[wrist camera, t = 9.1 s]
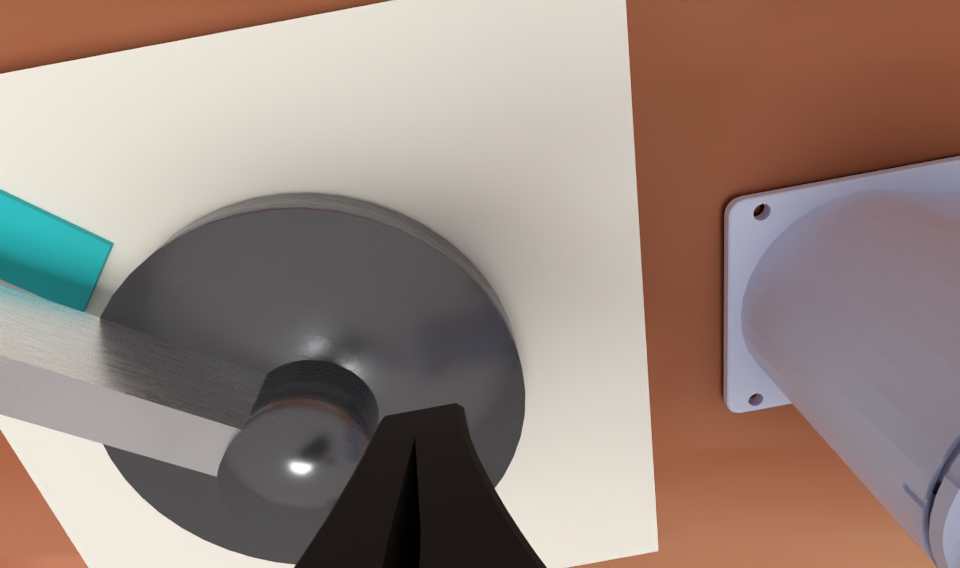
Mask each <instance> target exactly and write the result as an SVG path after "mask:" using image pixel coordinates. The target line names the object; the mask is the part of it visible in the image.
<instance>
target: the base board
mask: <svg viewBox="0 0 960 568" xmlns="http://www.w3.org/2000/svg"><path fill="white" fill-rule="evenodd" d="M307 193H312V194H323V195H334V196H343V197H347V198H352V199H356V200H361V201H365V202H370V203H373V204H376V205H379V206H382V207H385V208H387V209H390V210H393V211H396V212H399V213H401V214H403V215H405V216H407V217H409V218H411V219H413V220H415V221H417V222H419V223H421V224H423V225H425V226H426V227H428V228H429V229H431V230H432V231H434V232H435V233H437V234H439V235H440V236H442V237H443V238H445V239H446V240H448V241H449V242H450V243H451V244H452V245H453V246H455V247H456V248H457V249H458V250H459V251H460V252H461V253H463V254H464V255H465V256H466V257H467V258H468V259H469V260H470V261H471V262H472V263H473V264H474V265H475V267H476V268H477V269H478V270H479V271H480V272H481V273H482V275H483V276H484V277H485V278H486V279H487V281H488V282H489V284H490V285H491V287H492V289H493V290H494V292H495V293H496V295H497V296H498V298H499V299H500V301H501V304H502V306H503V308H504V310H505V312H506V314H507V316H508V319H509V321H510V324H511V328H512V331H513V334H514V338H515V341H516V345H517V349H518V353H519V358H520V362H521V366H522V371H523V378H524V385H525V417H524V422H523V428H522V433H521V437H520V440H519V443H518V446H517V449H516V452H515V455H514V457H513V459H512V461H511V463H510V465H509V467H508V469H507V471H506V473H505V474H504V476H503V478H502V479H501V480H500V482H499V483H498V485H497V486H496V487H495V490H496V492H497V494H498V495H499V497H500V499H501V500H502V502H503V504H504V505H505V507H506V509H507V510H508V512H509V513H510V515H511V517H512V518H513V520H514V521H515V523H516V524H517V526H518V528H519V529H520V531H521V532H522V534H523V535H524V537H525V538H526V539H527V541H528V542H529V544H530V545H531V547H532V548H533V549H534V551H535V552H536V554H537V555H538V556H539V558H540V559H541V560H542V562H543V563H544V564H545V566H546V567H547V568H567V567H572V566H578V565H583V564H589V563H595V562H600V561H606V560H611V559H617V558H622V557H628V556H634V555H639V554H645V553H650V552H656V551H658V535H657V519H656V502H655V485H654V468H653V451H652V434H651V418H650V401H649V384H648V367H647V350H646V333H645V317H644V300H643V283H642V266H641V249H640V233H639V216H638V199H637V182H636V165H635V148H634V132H633V115H632V98H631V81H630V64H629V47H628V31H627V14H626V0H392V1H387V2H382V3H376V4H371V5H366V6H360V7H355V8H350V9H344V10H339V11H334V12H328V13H323V14H318V15H312V16H307V17H302V18H296V19H291V20H286V21H280V22H275V23H270V24H264V25H259V26H254V27H248V28H243V29H238V30H232V31H227V32H222V33H216V34H211V35H206V36H200V37H195V38H190V39H184V40H179V41H174V42H168V43H163V44H158V45H152V46H147V47H142V48H136V49H131V50H126V51H120V52H115V53H110V54H104V55H99V56H93V57H88V58H83V59H77V60H72V61H67V62H61V63H56V64H51V65H45V66H40V67H35V68H29V69H24V70H19V71H13V72H8V73H3V74H0V284H1V285H4V286H7V287H10V288H13V289H16V290H19V291H22V292H25V293H28V294H31V295H34V296H37V297H40V298H43V299H46V300H49V301H52V302H55V303H58V304H61V305H64V306H66V307H69V308H72V309H75V310H78V311H81V312H84V313H87V314H90V315H93V316H96V317H99V318H100V316H101V315H102V313H103V311H104V309H105V307H106V306H107V304H108V302H109V300H110V299H111V297H112V295H113V294H114V293H115V292H116V290H117V289H118V288H119V287H120V285H121V284H122V283H123V282H124V280H125V279H126V278H127V277H128V276H129V274H130V273H132V272H133V271H134V270H135V269H136V268H137V267H138V266H139V265H140V264H141V263H142V262H143V261H145V260H146V259H147V258H148V257H149V256H150V255H151V254H152V253H153V252H154V251H156V250H157V249H158V248H159V247H160V246H161V245H162V244H163V243H165V242H166V241H167V240H168V239H169V238H170V237H171V236H172V235H174V234H175V233H177V232H178V231H180V230H181V229H183V228H184V227H186V226H187V225H189V224H190V223H192V222H194V221H195V220H197V219H199V218H201V217H203V216H205V215H207V214H210V213H212V212H214V211H216V210H218V209H221V208H223V207H226V206H229V205H233V204H236V203H239V202H243V201H246V200H250V199H255V198H261V197H267V196H273V195H280V194H307ZM0 429H1V431H2V433H3V434H4V436H5V437H6V439H7V440H8V442H9V444H10V445H11V447H12V448H13V450H14V451H15V453H16V454H17V456H18V458H19V459H20V461H21V462H22V464H23V465H24V467H25V469H26V470H27V472H28V473H29V475H30V476H31V478H32V480H33V481H34V483H35V484H36V486H37V487H38V489H39V491H40V492H41V494H42V495H43V497H44V498H45V500H46V502H47V503H48V505H49V506H50V508H51V509H52V511H53V513H54V514H55V516H56V517H57V519H58V520H59V522H60V524H61V525H62V527H63V528H64V530H65V531H66V533H67V535H68V536H69V538H70V539H71V541H72V542H73V544H74V545H75V547H76V549H77V550H78V552H79V553H80V555H81V556H82V558H83V560H84V561H85V563H86V564H87V566H88V567H89V568H294V566H295V565H294V564H286V563H277V562H272V561H267V560H262V559H258V558H253V557H249V556H246V555H243V554H240V553H236V552H233V551H230V550H227V549H224V548H222V547H220V546H217V545H215V544H212V543H210V542H208V541H205V540H203V539H201V538H199V537H197V536H196V535H194V534H192V533H190V532H188V531H186V530H185V529H183V528H181V527H179V526H178V525H177V524H175V523H174V522H172V521H171V520H169V519H168V518H166V517H165V516H163V515H162V514H160V513H159V512H158V511H157V510H156V509H155V508H153V507H152V506H151V505H150V504H149V503H148V502H146V501H145V500H144V499H143V498H142V497H141V496H140V495H139V494H138V493H137V492H136V491H135V490H134V488H133V487H132V486H131V485H130V484H129V483H128V482H127V481H126V480H125V479H124V477H123V476H122V474H121V473H120V472H119V470H118V469H117V467H116V466H115V465H114V463H113V462H112V460H111V459H110V457H109V455H108V453H107V451H106V449H105V447H104V445H103V444H101V443H98V442H94V441H91V440H87V439H84V438H80V437H77V436H73V435H70V434H67V433H63V432H60V431H56V430H53V429H49V428H46V427H42V426H39V425H35V424H32V423H28V422H25V421H21V420H18V419H14V418H11V417H7V416H4V415H0Z"/></svg>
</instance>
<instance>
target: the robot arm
mask: <svg viewBox="0 0 960 568" xmlns="http://www.w3.org/2000/svg"><path fill="white" fill-rule="evenodd" d="M761 204H764V210H763V212H762V213H761V214H760V215H757V216H754V215H753V213H754V210H755V208H756V207H757V206H758V205H761ZM756 393H757V395H756V396H755V397H754V398H752V399H749V398H750V397H751V396H752V395H754V394H756ZM723 399H724V403H725V404H726V406H727V407H728V409H729V410H730V411H732V412H735V413H743V412H748V411H754V410H759V409H765V408H770V407H776V406H781V405H787V404H793V405H794V406H795V407H796V408H797V410H798V411H799V412H800V413H801V414H802V415H803V416H804V417H805V419H806V420H807V421H808V422H809V423H810V424H811V425H812V427H813V428H814V429H815V430H816V431H817V432H818V433H819V434H820V436H821V437H822V438H823V439H824V440H825V441H826V442H827V443H828V445H829V446H830V447H831V448H832V449H833V450H834V451H835V453H836V454H837V455H838V456H839V457H840V458H841V459H842V460H843V462H844V463H845V464H846V465H847V466H848V467H849V468H850V470H851V471H852V472H853V473H854V474H855V475H856V476H857V477H858V479H859V480H860V481H861V482H862V483H863V484H864V485H865V486H866V488H867V489H868V490H869V491H870V492H871V493H872V494H873V496H874V497H875V498H876V499H877V500H878V501H879V502H880V503H881V505H882V506H883V507H884V508H885V509H886V510H887V511H888V512H889V514H890V515H891V516H892V517H893V518H894V519H895V520H896V522H897V523H898V524H899V525H900V526H901V527H902V528H903V529H904V531H905V532H906V533H907V534H908V535H909V536H910V537H911V538H912V540H913V541H914V542H915V543H916V544H917V545H918V546H919V548H920V549H921V550H922V551H923V552H924V553H925V554H926V555H927V557H928V558H929V559H930V560H931V561H932V562H933V563H934V565H935V566H936V567H938V568H960V156H956V157H951V158H945V159H940V160H934V161H929V162H923V163H918V164H913V165H907V166H902V167H896V168H891V169H885V170H880V171H875V172H869V173H864V174H858V175H853V176H847V177H842V178H836V179H831V180H826V181H820V182H815V183H809V184H804V185H798V186H793V187H788V188H782V189H777V190H771V191H766V192H760V193H755V194H749V195H744V196H740V197H737V198H734V199H733V200H732V201H731V202H729V204H728V205H727V207H726V209H725V214H724V392H723ZM294 568H547V567H546V566H545V564H544V563H543V562H542V560H541V559H540V558H539V556H538V555H537V554H536V552H535V551H534V549H533V548H532V547H531V545H530V544H529V542H528V541H527V539H526V538H525V537H524V535H523V534H522V532H521V531H520V529H519V528H518V526H517V524H516V523H515V521H514V520H513V518H512V517H511V515H510V513H509V512H508V510H507V509H506V507H505V505H504V504H503V502H502V500H501V499H500V497H499V495H498V494H497V492H496V490H495V488H494V486H493V484H492V482H491V481H490V479H489V477H488V475H487V473H486V471H485V469H484V467H483V465H482V463H481V461H480V459H479V457H478V455H477V452H476V450H475V448H474V445H473V443H472V440H471V437H470V432H469V428H468V423H467V419H466V414H465V410H464V407H462V406H461V405H459V404H457V403H453V404H447V405H442V406H436V407H431V408H425V409H420V410H414V411H409V412H403V413H398V414H392V415H387V416H384V418H383V419H382V420H381V421H380V423H379V425H378V427H377V429H376V431H375V433H374V435H373V437H372V439H371V441H370V442H369V444H368V446H367V448H366V450H365V452H364V454H363V456H362V458H361V460H360V461H359V463H358V465H357V467H356V469H355V470H354V472H353V474H352V476H351V478H350V479H349V481H348V483H347V484H346V486H345V488H344V490H343V491H342V493H341V495H340V496H339V498H338V500H337V502H336V503H335V505H334V507H333V508H332V510H331V512H330V513H329V515H328V517H327V518H326V520H325V521H324V523H323V524H322V526H321V527H320V529H319V530H318V532H317V533H316V535H315V536H314V538H313V539H312V541H311V543H310V544H309V546H308V547H307V549H306V550H305V552H304V553H303V555H302V556H301V558H300V559H299V561H298V562H297V564H296V565H295V566H294Z"/></svg>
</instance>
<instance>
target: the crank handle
mask: <svg viewBox="0 0 960 568" xmlns="http://www.w3.org/2000/svg"><path fill="white" fill-rule="evenodd" d="M453 403H457V404H459V405H461V406H462V407H464V410H465V414H466V419H467V423H468V428H469V432H470V437H471V440H472V443H473V445H474V448H475V450H476V452H477V455H478V457H479V459H480V461H481V463H482V465H483V467H484V469H485V471H486V473H487V475H488V477H489V479H490V481H491V482H492V484H493V486H494V488H495V487H496V486H497V485H498V483H499V482H500V480H501V479H502V478H503V476H504V474H505V473H506V471H507V469H508V467H509V465H510V463H511V461H512V459H513V457H514V455H515V452H516V449H517V446H518V443H519V440H520V437H521V433H522V428H523V422H524V417H525V385H524V378H523V371H522V366H521V362H520V358H519V353H518V349H517V345H516V341H515V338H514V334H513V331H512V328H511V324H510V321H509V319H508V316H507V314H506V312H505V310H504V308H503V306H502V304H501V301H500V299H499V298H498V296H497V295H496V293H495V292H494V290H493V289H492V287H491V285H490V284H489V282H488V281H487V279H486V278H485V277H484V276H483V275H482V273H481V272H480V271H479V270H478V269H477V268H476V267H475V265H474V264H473V263H472V262H471V261H470V260H469V259H468V258H467V257H466V256H465V255H464V254H463V253H461V252H460V251H459V250H458V249H457V248H456V247H455V246H453V245H452V244H451V243H450V242H449V241H448V240H446V239H445V238H443V237H442V236H440V235H439V234H437V233H435V232H434V231H432V230H431V229H429V228H428V227H426V226H425V225H423V224H421V223H419V222H417V221H415V220H413V219H411V218H409V217H407V216H405V215H403V214H401V213H399V212H396V211H393V210H390V209H387V208H385V207H382V206H379V205H376V204H373V203H370V202H365V201H361V200H356V199H352V198H347V197H343V196H334V195H323V194H312V193H307V194H280V195H273V196H267V197H261V198H255V199H250V200H246V201H243V202H239V203H236V204H233V205H229V206H226V207H223V208H221V209H218V210H216V211H214V212H212V213H210V214H207V215H205V216H203V217H201V218H199V219H197V220H195V221H194V222H192V223H190V224H189V225H187V226H186V227H184V228H183V229H181V230H180V231H178V232H177V233H175V234H174V235H172V236H171V237H170V238H169V239H168V240H167V241H166V242H165V243H163V244H162V245H161V246H160V247H159V248H158V249H157V250H156V251H154V252H153V253H152V254H151V255H150V256H149V257H148V258H147V259H146V260H145V261H143V262H142V263H141V264H140V265H139V266H138V267H137V268H136V269H135V270H134V271H133V272H132V273H130V274H129V276H128V277H127V278H126V279H125V280H124V282H123V283H122V284H121V285H120V287H119V288H118V289H117V290H116V292H115V293H114V294H113V295H112V297H111V299H110V300H109V302H108V304H107V306H106V307H105V309H104V311H103V313H102V315H101V316H100V318H99V317H96V316H93V315H90V314H87V313H84V312H81V311H78V310H75V309H72V308H69V307H66V306H64V305H61V304H58V303H55V302H52V301H49V300H46V299H43V298H40V297H37V296H34V295H31V294H28V293H25V292H22V291H19V290H16V289H13V288H10V287H7V286H4V285H1V284H0V415H4V416H7V417H11V418H14V419H18V420H21V421H25V422H28V423H32V424H35V425H39V426H42V427H46V428H49V429H53V430H56V431H60V432H63V433H67V434H70V435H73V436H77V437H80V438H84V439H87V440H91V441H94V442H98V443H101V444H103V445H104V447H105V449H106V451H107V453H108V455H109V457H110V459H111V460H112V462H113V463H114V465H115V466H116V467H117V469H118V470H119V472H120V473H121V474H122V476H123V477H124V479H125V480H126V481H127V482H128V483H129V484H130V485H131V486H132V487H133V488H134V490H135V491H136V492H137V493H138V494H139V495H140V496H141V497H142V498H143V499H144V500H145V501H146V502H148V503H149V504H150V505H151V506H152V507H153V508H155V509H156V510H157V511H158V512H159V513H160V514H162V515H163V516H165V517H166V518H168V519H169V520H171V521H172V522H174V523H175V524H177V525H178V526H179V527H181V528H183V529H185V530H186V531H188V532H190V533H192V534H194V535H196V536H197V537H199V538H201V539H203V540H205V541H208V542H210V543H212V544H215V545H217V546H220V547H222V548H224V549H227V550H230V551H233V552H236V553H240V554H243V555H246V556H249V557H253V558H258V559H262V560H267V561H272V562H277V563H286V564H294V565H296V564H297V562H298V561H299V559H300V558H301V556H302V555H303V553H304V552H305V550H306V549H307V547H308V546H309V544H310V543H311V541H312V539H313V538H314V536H315V535H316V533H317V532H318V530H319V529H320V527H321V526H322V524H323V523H324V521H325V520H326V518H327V517H328V515H329V513H330V512H331V510H332V508H333V507H334V505H335V503H336V502H337V500H338V498H339V496H340V495H341V493H342V491H343V490H344V488H345V486H346V484H347V483H348V481H349V479H350V478H351V476H352V474H353V472H354V470H355V469H356V467H357V465H358V463H359V461H360V460H361V458H362V456H363V454H364V452H365V450H366V448H367V446H368V444H369V442H370V441H371V439H372V437H373V435H374V433H375V431H376V429H377V427H378V425H379V423H380V421H381V420H382V419H383V418H384V416H387V415H392V414H398V413H403V412H409V411H414V410H420V409H425V408H431V407H436V406H442V405H447V404H453Z"/></svg>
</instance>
